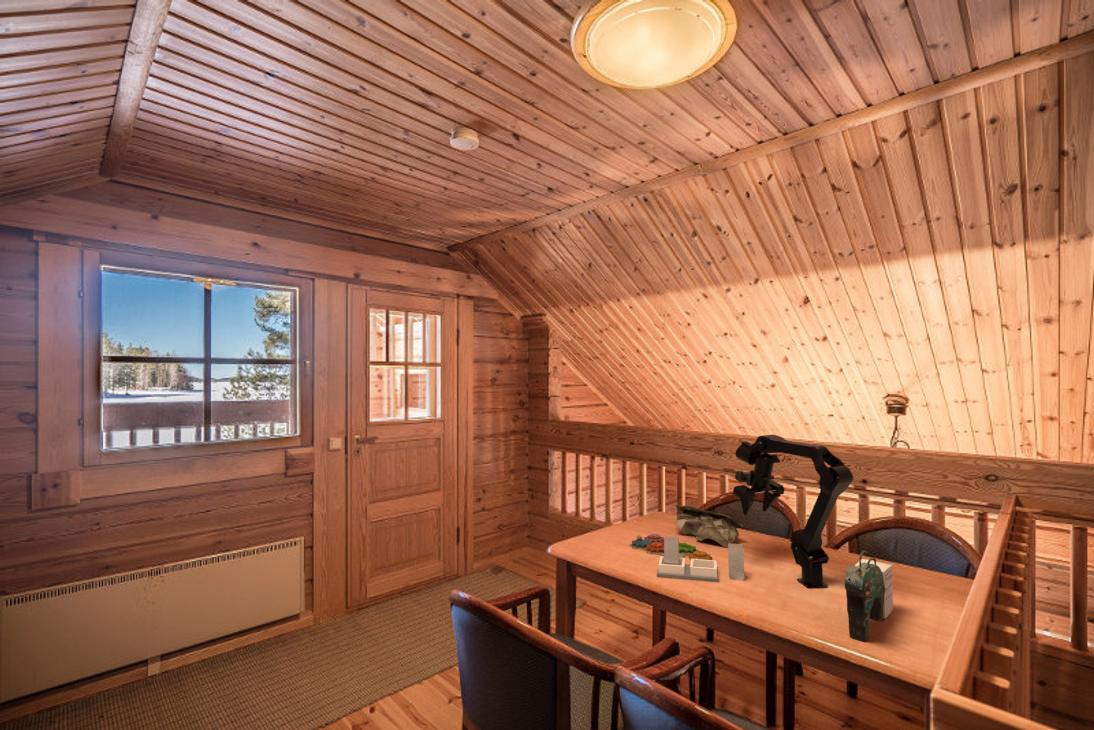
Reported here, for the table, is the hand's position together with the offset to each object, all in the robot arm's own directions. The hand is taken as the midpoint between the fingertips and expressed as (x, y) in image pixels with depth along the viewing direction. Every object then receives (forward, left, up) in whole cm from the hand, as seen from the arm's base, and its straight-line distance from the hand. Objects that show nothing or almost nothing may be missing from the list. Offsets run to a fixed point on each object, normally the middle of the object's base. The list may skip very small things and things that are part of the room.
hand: (754, 512), depth 184 cm
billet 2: (-12, +12, -17) cm, 24 cm away
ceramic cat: (-48, -7, -17) cm, 51 cm away
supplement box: (-39, -15, -17) cm, 45 cm away
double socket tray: (-7, +26, -17) cm, 32 cm away
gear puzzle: (+14, +25, -18) cm, 34 cm away
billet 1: (-5, +31, -16) cm, 35 cm away
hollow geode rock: (+27, +7, -17) cm, 33 cm away
